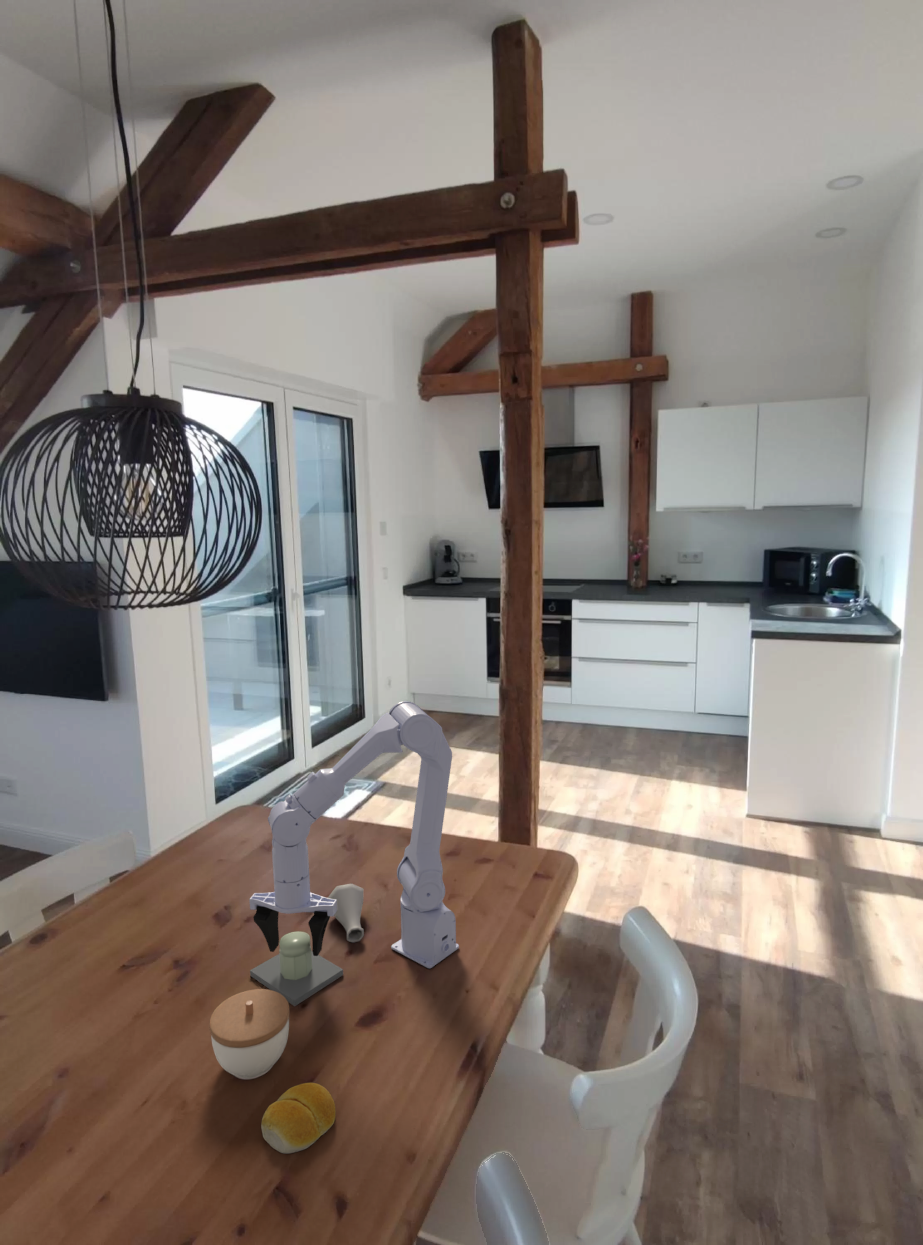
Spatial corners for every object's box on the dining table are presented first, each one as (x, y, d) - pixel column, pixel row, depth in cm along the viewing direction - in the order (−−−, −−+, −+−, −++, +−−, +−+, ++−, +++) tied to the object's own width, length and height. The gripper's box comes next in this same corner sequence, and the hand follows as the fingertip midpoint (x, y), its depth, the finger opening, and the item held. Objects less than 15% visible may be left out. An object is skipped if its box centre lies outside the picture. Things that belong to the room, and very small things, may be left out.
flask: (369, 884, 139) (380, 920, 130) (357, 915, 141) (367, 953, 132) (333, 880, 136) (342, 917, 127) (321, 912, 138) (330, 950, 129)
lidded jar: (307, 1052, 104) (304, 993, 103) (251, 1105, 95) (247, 1040, 93) (254, 1026, 109) (250, 969, 108) (196, 1073, 100) (191, 1012, 99)
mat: (343, 974, 121) (343, 969, 121) (294, 1006, 114) (294, 1000, 113) (298, 948, 129) (298, 942, 129) (250, 975, 121) (250, 970, 121)
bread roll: (347, 1116, 93) (346, 1088, 93) (294, 1167, 86) (293, 1138, 85) (303, 1087, 98) (302, 1060, 97) (250, 1133, 91) (248, 1105, 90)
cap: (316, 963, 123) (315, 933, 122) (303, 981, 118) (301, 951, 117) (289, 959, 124) (287, 929, 123) (275, 977, 119) (273, 947, 118)
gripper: (341, 865, 121) (345, 940, 123) (260, 859, 124) (265, 932, 126) (327, 887, 114) (330, 965, 116) (241, 880, 117) (246, 957, 119)
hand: (295, 950), depth 121 cm, fingers open, 7 cm apart
